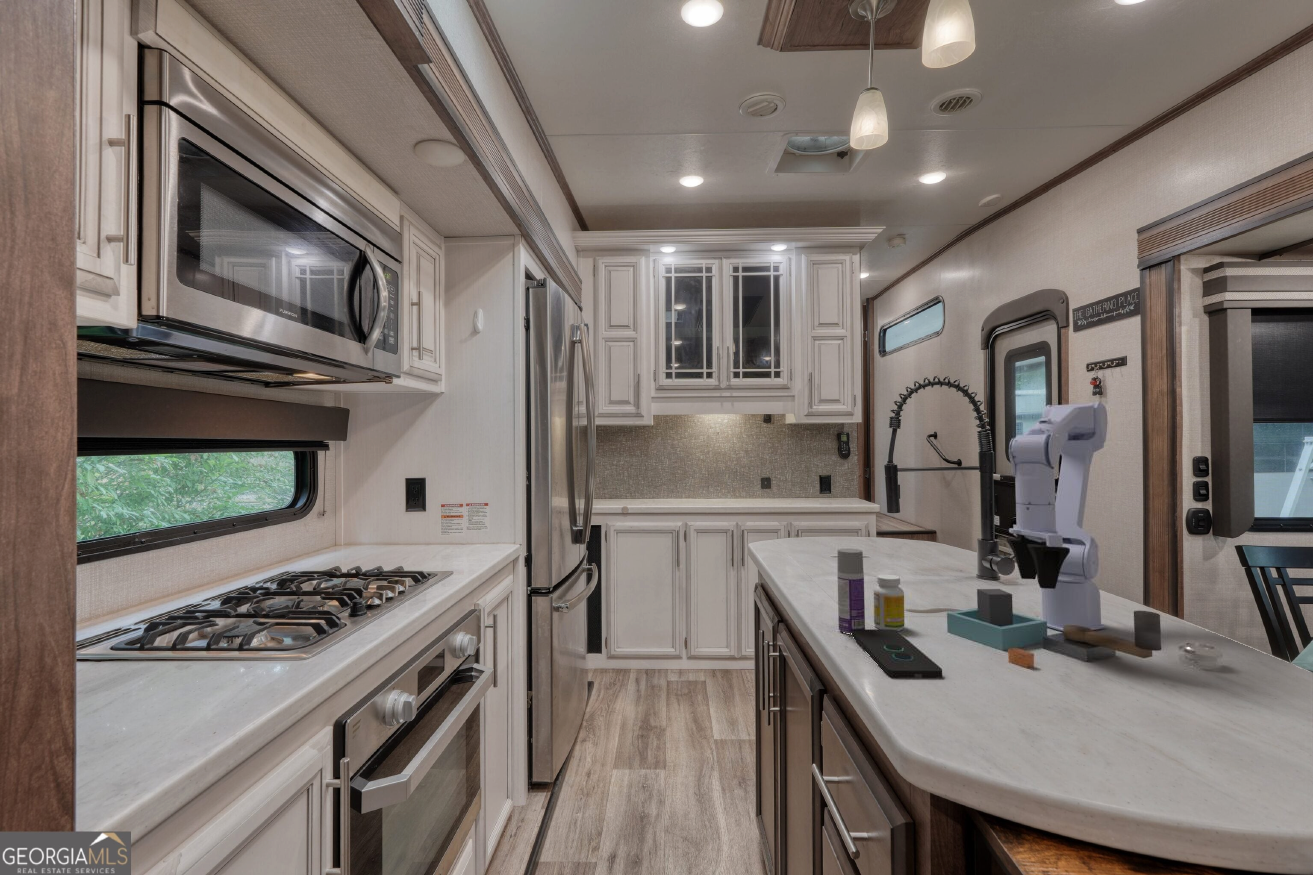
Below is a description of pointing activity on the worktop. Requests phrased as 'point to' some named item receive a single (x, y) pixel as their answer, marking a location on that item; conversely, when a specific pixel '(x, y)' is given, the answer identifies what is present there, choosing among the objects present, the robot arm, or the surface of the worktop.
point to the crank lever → (1143, 646)
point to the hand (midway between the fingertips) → (1037, 583)
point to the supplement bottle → (889, 603)
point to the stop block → (995, 607)
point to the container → (850, 590)
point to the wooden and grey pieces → (1062, 650)
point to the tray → (997, 630)
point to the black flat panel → (896, 654)
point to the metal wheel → (1200, 655)
